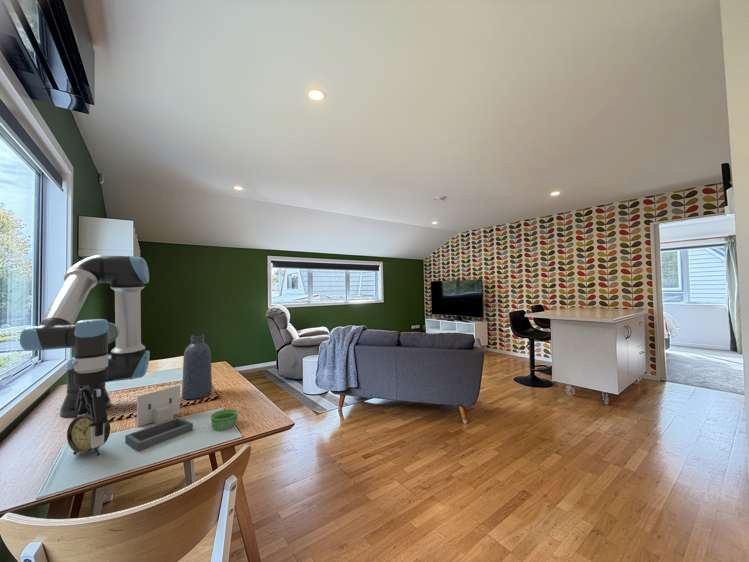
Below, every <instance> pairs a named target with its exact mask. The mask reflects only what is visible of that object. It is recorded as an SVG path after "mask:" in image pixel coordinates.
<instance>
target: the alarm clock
mask: <svg viewBox="0 0 749 562" xmlns="http://www.w3.org/2000/svg"><path fill="white" fill-rule="evenodd" d="M85 406H86V408H87V409H88V407H87V404H86V403H85ZM88 411H89V412H88V414H85V415H82V416H79V417H78V416H76V417H75V418H74V419H72V421H71V422H70V423H69V425H68V427H67V431H66V440H67V443H68V445H69V447H70V449H71V450H72V451H74V452H72V453H73V454H74V455H75V454H81V455H83V454H88V453H89V452H92V451H94V453H96V456H98V457H99V456H100V455H101V454H100V452H99V448H100V447H102V446H103V445H101V446H98V447H95V448H93V449H92V448H91V427H90V424H92V423H93V422H92V417H91V412H90V409H88ZM99 420H101V419H99ZM110 433H111V423H110V421H109V420H108V421H107V422H105V423H104V444H105V443H107V441H108V439H109V437H110Z"/></svg>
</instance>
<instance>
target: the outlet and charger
mask: <svg viewBox="0 0 749 562" xmlns="http://www.w3.org/2000/svg"><path fill="white" fill-rule="evenodd" d="M180 413H181V385H180V384H177V385H173V386H170V387H164V388H161V389H158V390H155V391H150V392H146V393H142V394H137V395H136V427H141V426H145V425H147V424H150V423H153V424H155V425H157V424H160V423H163V422H166V421H169V420H172V419H174V416H175V415H178V414H180Z"/></svg>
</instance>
